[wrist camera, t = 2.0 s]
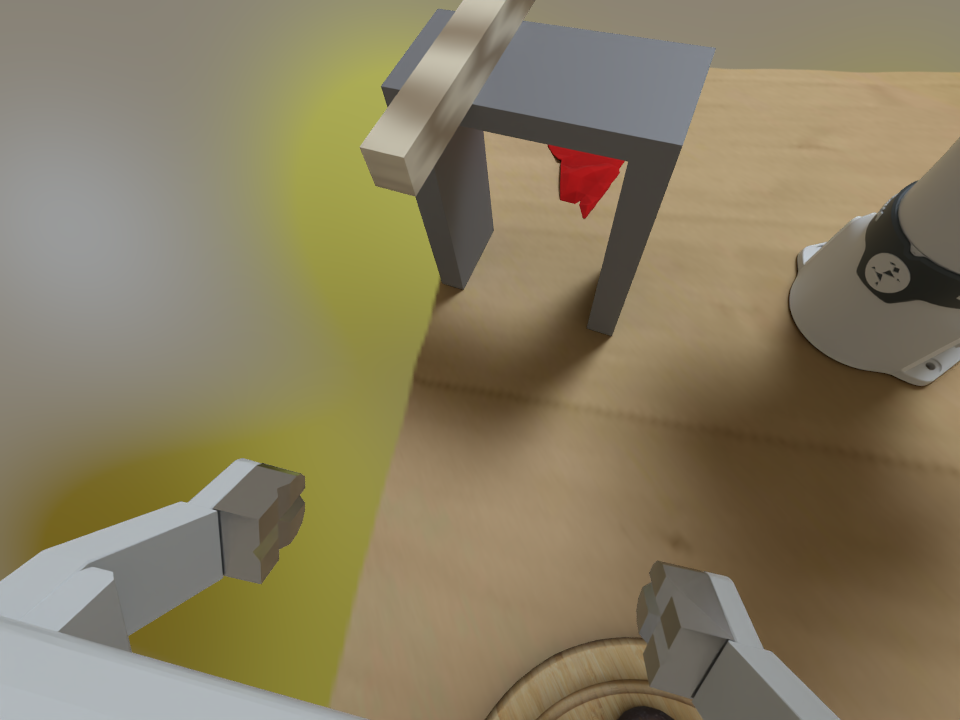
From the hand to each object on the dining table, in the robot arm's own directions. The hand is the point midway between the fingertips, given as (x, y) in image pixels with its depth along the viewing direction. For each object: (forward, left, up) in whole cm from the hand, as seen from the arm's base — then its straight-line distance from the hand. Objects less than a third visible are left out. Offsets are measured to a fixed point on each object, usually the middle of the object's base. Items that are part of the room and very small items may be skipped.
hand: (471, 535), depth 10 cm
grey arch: (-15, -28, -36) cm, 48 cm away
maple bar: (-10, -31, -10) cm, 34 cm away
